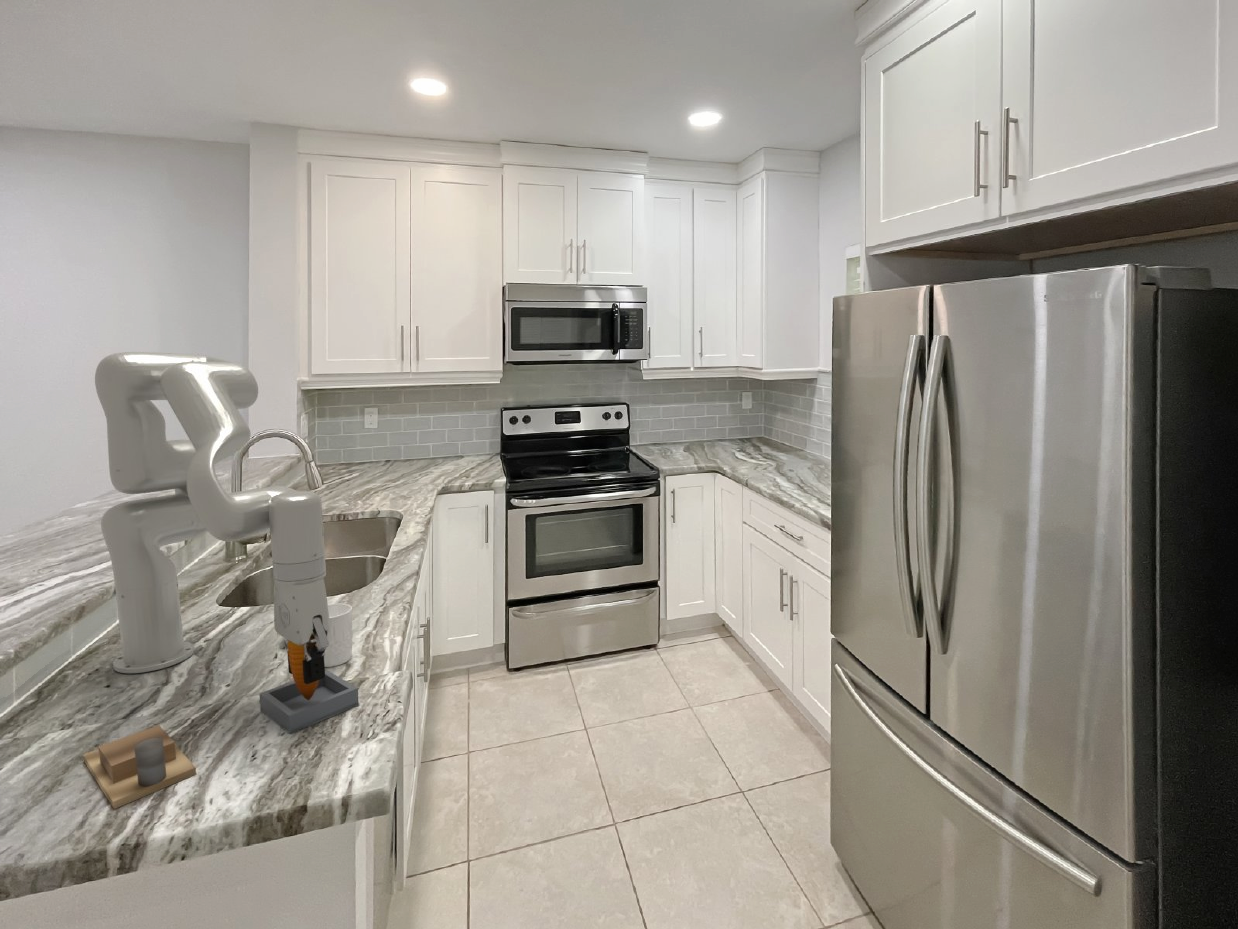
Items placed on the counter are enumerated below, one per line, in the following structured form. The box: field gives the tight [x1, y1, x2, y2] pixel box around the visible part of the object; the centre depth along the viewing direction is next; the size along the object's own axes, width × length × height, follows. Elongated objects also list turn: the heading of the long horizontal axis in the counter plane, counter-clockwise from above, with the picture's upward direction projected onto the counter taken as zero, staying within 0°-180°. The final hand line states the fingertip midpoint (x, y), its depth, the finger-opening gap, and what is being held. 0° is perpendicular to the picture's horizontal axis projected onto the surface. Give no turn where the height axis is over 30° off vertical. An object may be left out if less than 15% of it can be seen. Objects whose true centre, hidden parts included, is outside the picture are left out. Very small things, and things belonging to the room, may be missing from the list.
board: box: [82, 738, 197, 810], centre depth 86 cm, size 16×9×6 cm, turn 51°
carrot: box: [287, 635, 319, 700], centre depth 101 cm, size 5×5×15 cm
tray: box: [258, 668, 360, 735], centre depth 102 cm, size 11×11×3 cm
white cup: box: [324, 603, 353, 668], centre depth 119 cm, size 8×8×10 cm
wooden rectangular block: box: [97, 724, 176, 784], centre depth 86 cm, size 7×7×2 cm
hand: (306, 674), depth 101 cm, fingers closed on carrot, 4 cm apart
